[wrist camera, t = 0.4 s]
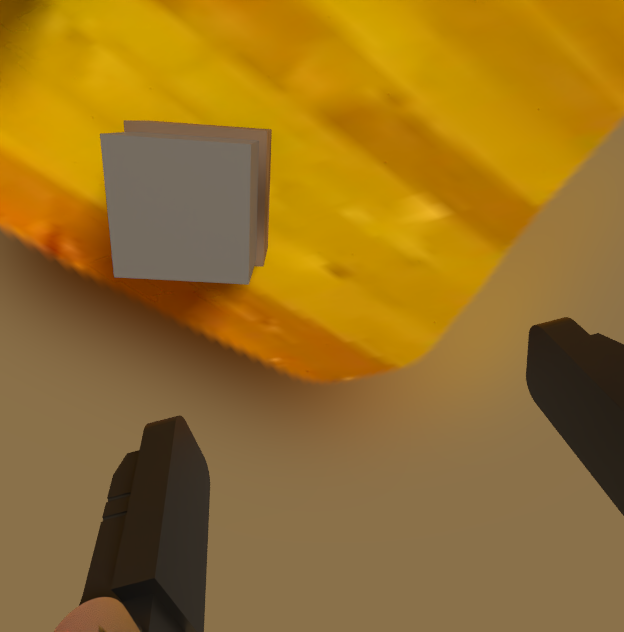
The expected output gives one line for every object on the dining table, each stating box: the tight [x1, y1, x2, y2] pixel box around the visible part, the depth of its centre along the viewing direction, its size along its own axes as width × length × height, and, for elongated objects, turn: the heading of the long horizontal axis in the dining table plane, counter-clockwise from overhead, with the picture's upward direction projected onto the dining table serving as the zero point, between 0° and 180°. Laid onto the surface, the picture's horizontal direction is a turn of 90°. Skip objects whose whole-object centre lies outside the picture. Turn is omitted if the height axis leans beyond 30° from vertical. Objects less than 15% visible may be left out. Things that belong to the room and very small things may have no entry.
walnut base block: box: [124, 121, 271, 266], centre depth 30 cm, size 8×8×5 cm
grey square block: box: [100, 132, 259, 284], centre depth 26 cm, size 7×7×5 cm
